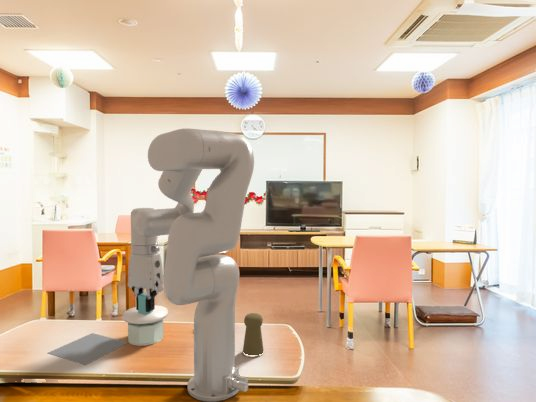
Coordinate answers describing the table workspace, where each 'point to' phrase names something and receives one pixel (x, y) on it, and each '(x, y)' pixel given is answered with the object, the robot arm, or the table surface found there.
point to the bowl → (145, 333)
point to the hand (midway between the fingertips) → (145, 309)
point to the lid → (144, 313)
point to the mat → (88, 348)
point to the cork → (253, 334)
